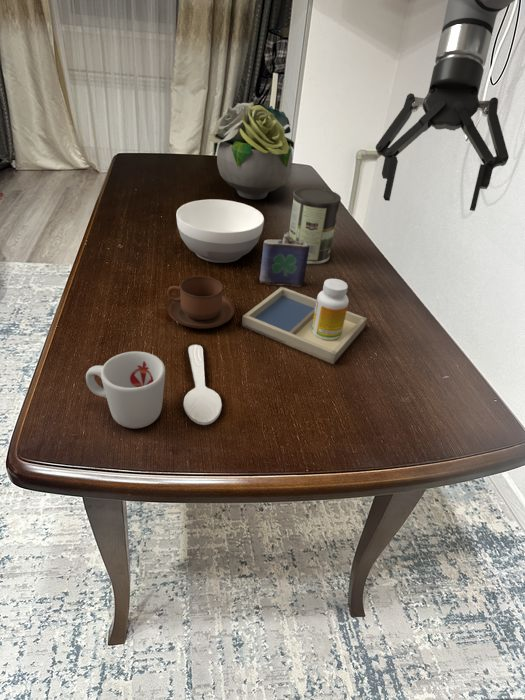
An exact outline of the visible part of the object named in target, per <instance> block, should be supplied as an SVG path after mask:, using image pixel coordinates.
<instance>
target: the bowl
mask: <svg viewBox="0 0 525 700" xmlns="http://www.w3.org/2000/svg"><path fill="white" fill-rule="evenodd" d="M264 224H265V218H264V215H263V213H262V212H261V211H260V210H259V209H256V208H255V207H253V206H251V205H248V204H246V203H242V202H237V201H234V200H227V199H200V200H193V201H190V202H187V203H184V204H183V205H181V206H180V207H179V208H178V209H177V210H176V225H177V229H178V232H179V235H180V238H181V240H182V241H183V243H184V244H185V246H186V247H187V248H188V249H189V250H190V251H191V252H193V253H195V255H196V257H198V258H200V259H202V260H204V261H207V262H211V263H219V264H220V263H221V264H226V263H232V262H236V261H238V260H240V259H241V258H242V257H243V256H245V255H247V254H249V253H250V252H251V251H252V250H253V249H254V248H255V247H256V245H257V244H258V243H259V240H260V237H261V234H262V232H263V229H264Z"/></svg>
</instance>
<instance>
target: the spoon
mask: <svg viewBox="0 0 525 700" xmlns="http://www.w3.org/2000/svg"><path fill="white" fill-rule="evenodd" d="M187 348H188V349H187V353H188V357H189V362H190V367H191V372H192V378H193V382H194V388H192V389H191V390H189V391H188V392H187V393H186V394H185V396H184V398H183V402H182V403H183V409H184V412H185V414H186V415H187V417H188V418H189V420H191V421H192V422H194V423H195V424H198V425H200V426H201V425H202V426H207V425H210V424H212V423H214V422H215V421H217V419H218V418H219V416H220V414H221V411H222V407H223V404H222V398H221V396H220V394H219V393H217V392H216V391H215V390H214V389H211V388H209V387H207V386H206V377H205V361H204V360H205V359H204V349H203V346H201V345H200V344H191V345H189V346H188V347H187Z"/></svg>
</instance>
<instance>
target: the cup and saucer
mask: <svg viewBox="0 0 525 700" xmlns="http://www.w3.org/2000/svg"><path fill="white" fill-rule="evenodd" d="M174 290H175V291H177V292H179V293H178V294H176V295H174V296H173V295H172V293H171V292H172V291H174ZM223 291H224V286H223V284H222V282H221V281H219V280H218V279H217V278H213V277H210V276H204V275H196V276H191V277H187V278H185V279H184V280H182V281H181V283H180V286H179V285H178V286H177V285H172V286H169V287H168V288H167V290H166V295H167V297H168V299H170V300H169V301H168V302H167V305H166V310H167V314H168V315H169V316H170V318H171V319H172V320H174V321H175V322H176V323H178V324H180V325H181V326H183V327H187V328H193V329H200V330H203V329H212V328H213V329H214V328H216V327H220V326H222V325H224V324H225V323H228V322H229V321H230V320H232V318H233V316H234V314H235V311H236V307H235V306H236V305H235V304H234V302H233V301H232V300H231V299H230V298H229V297H227V296H225V295H224V292H223Z"/></svg>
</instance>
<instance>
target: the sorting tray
mask: <svg viewBox="0 0 525 700" xmlns="http://www.w3.org/2000/svg"><path fill="white" fill-rule="evenodd" d="M316 301H317V298H314V297H312V296H311V297H310V296H308V295H305V294H302V293H301V292H297V291H295V290H292V289H289V288H286V287H284V286H280V287H278V289H276V290H275V291H274V292H272V293H271V294H269V295H268V296H267V297H265V298H264V299H263V300H261V302H259V303H258V304H256V305H255V306H254V307H252V309H250V310H249V311H247V312H246V313H245V314H243V315H242V319H241V320H242V321H241V326H242V327H244V328H246V329H249V330H250V331H253V332H256V333H258V334H260V335H262V336H264V337H267V338H269V339H272V340H274V341H277V342H279V343H282V344H284V345H286V346H289V347H291V348H293V349H296V350H298V351H301V352H303V353H306V354H308V355H311V356H312V357H315V358H317V359H320V360H322V361H324V362H327V363H329V364H332V365H334V364H335V363H336V362H337V361H338V359H339V358H340V357H342V355H343V354H344V353H345V351H346V350H347V349H348V348H349V346H350V345H352V344H353V342H354V340H355V339H356V338H357V337H358V336H359V335H360V333H361V332H362V331H363V330H364V329H365V328H366V327H365V326H366V323H367V317H365V316H362V315H360V314H357V313H354V312H351V311H348V310H347V312H346V316H345V320H344V325H343V329H342V334H341V336H340V337H339V338H337V339H334V340H325V339H321V338H319V337H317V336H315V335H314V334H313V332H312V323H313V317H314V312H315V306H316Z"/></svg>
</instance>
